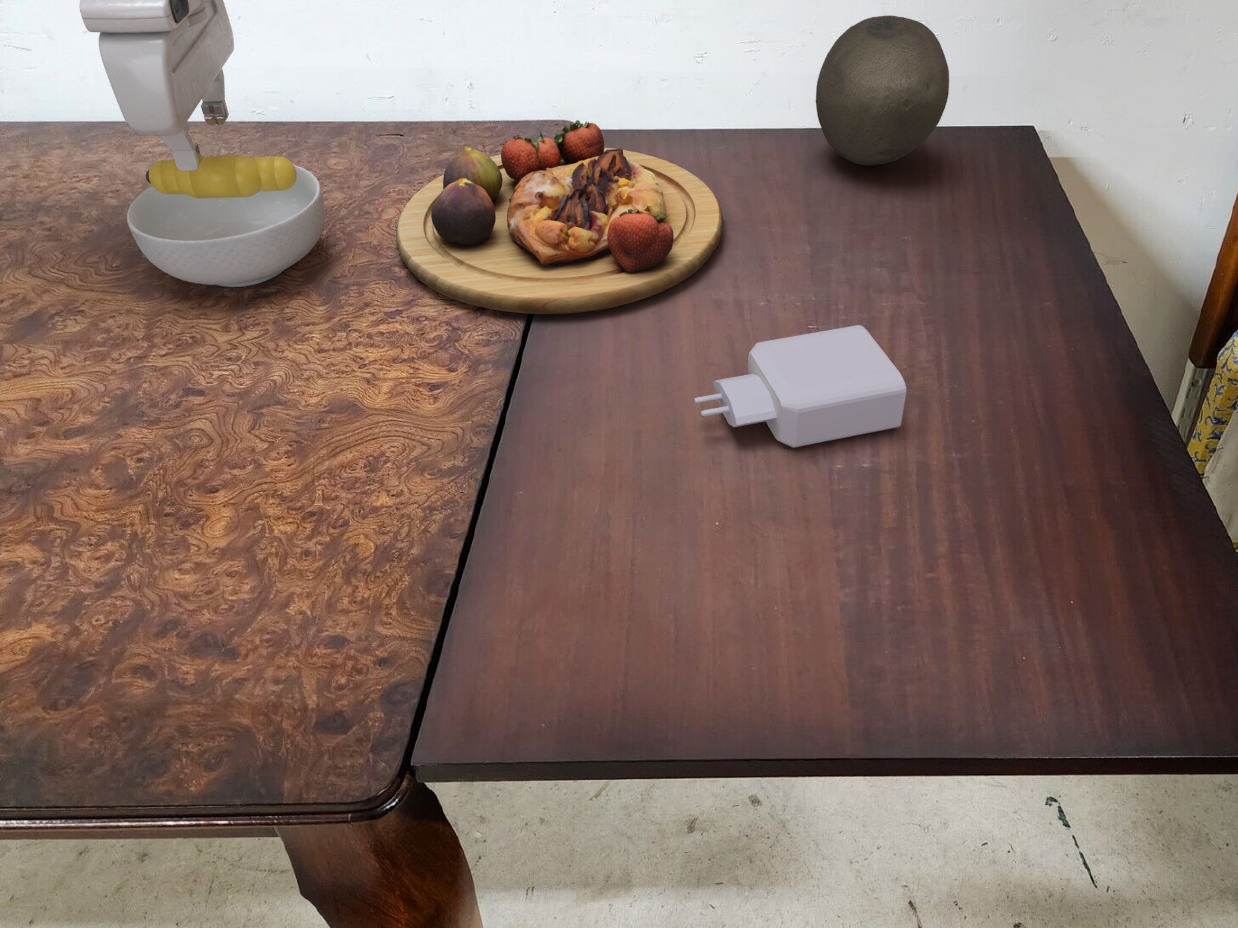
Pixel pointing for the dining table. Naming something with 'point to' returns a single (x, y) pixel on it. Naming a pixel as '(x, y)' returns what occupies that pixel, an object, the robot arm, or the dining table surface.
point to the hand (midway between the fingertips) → (204, 143)
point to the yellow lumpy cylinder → (224, 176)
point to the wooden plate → (558, 226)
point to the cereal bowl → (229, 232)
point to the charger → (814, 388)
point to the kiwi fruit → (882, 89)
